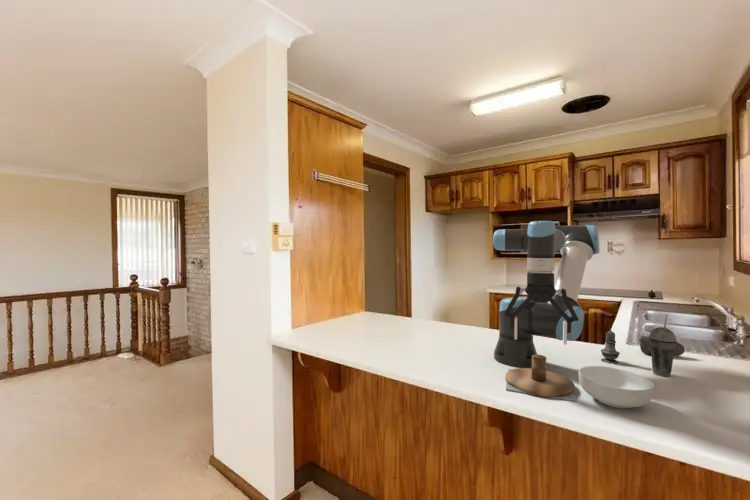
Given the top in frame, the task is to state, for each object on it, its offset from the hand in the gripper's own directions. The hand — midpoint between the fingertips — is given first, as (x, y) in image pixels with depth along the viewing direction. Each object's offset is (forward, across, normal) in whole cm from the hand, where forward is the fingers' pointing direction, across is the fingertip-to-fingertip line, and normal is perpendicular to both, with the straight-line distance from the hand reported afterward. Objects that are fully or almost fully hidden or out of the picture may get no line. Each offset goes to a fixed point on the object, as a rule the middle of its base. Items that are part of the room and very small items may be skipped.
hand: (539, 340), depth 107 cm
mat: (+13, 0, 0) cm, 13 cm away
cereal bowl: (+14, +18, -5) cm, 23 cm away
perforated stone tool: (+14, +45, +50) cm, 69 cm away
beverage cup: (+14, +38, +26) cm, 48 cm away
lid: (+13, 0, -1) cm, 13 cm away
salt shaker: (+14, +25, +34) cm, 44 cm away
